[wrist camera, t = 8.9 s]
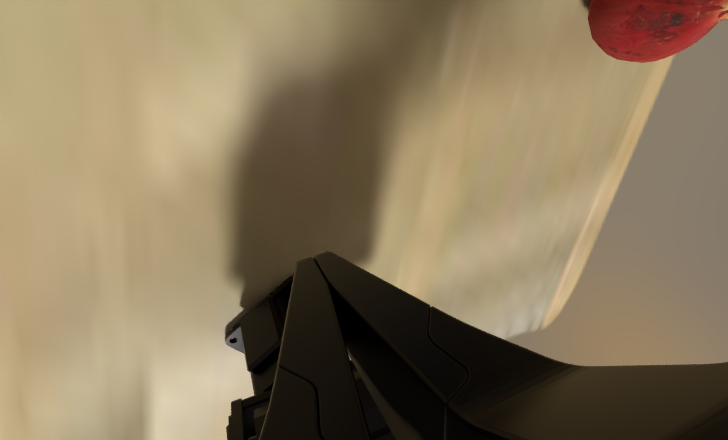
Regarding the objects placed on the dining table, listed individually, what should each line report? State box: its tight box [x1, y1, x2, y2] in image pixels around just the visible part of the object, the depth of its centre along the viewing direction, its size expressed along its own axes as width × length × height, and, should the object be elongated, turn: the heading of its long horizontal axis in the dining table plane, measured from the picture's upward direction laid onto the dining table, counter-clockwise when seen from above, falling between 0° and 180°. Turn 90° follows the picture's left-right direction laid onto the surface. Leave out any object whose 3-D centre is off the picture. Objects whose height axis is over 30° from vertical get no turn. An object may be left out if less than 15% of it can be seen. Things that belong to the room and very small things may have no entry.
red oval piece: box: [588, 0, 728, 63], centre depth 21 cm, size 6×6×8 cm
